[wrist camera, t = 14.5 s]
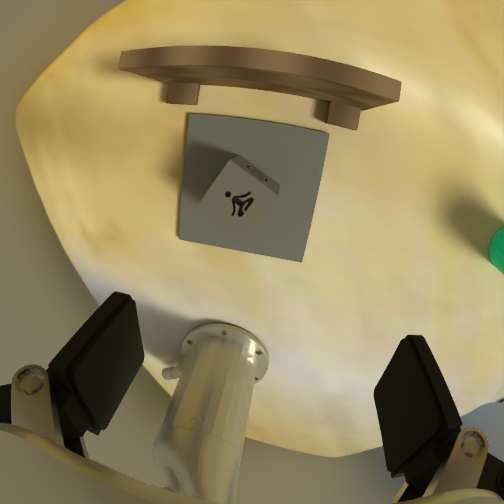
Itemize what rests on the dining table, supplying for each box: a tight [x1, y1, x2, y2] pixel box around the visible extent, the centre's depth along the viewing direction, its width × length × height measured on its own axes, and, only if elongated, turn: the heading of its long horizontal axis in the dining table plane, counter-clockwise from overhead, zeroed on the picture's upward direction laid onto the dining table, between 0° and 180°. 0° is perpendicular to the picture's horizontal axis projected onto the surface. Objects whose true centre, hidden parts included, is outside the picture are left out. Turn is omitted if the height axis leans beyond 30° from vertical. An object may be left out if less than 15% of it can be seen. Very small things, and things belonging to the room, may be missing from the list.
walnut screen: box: [118, 46, 401, 130], centre depth 19 cm, size 20×6×10 cm, turn 82°
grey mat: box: [179, 113, 329, 262], centre depth 28 cm, size 14×14×1 cm
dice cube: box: [198, 155, 280, 239], centre depth 26 cm, size 5×5×5 cm
